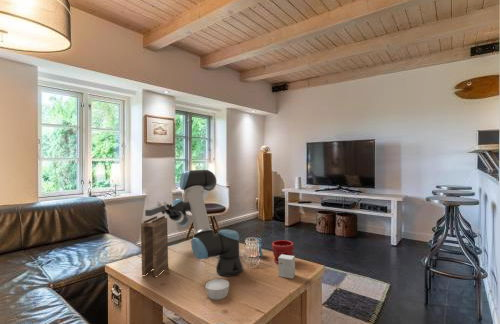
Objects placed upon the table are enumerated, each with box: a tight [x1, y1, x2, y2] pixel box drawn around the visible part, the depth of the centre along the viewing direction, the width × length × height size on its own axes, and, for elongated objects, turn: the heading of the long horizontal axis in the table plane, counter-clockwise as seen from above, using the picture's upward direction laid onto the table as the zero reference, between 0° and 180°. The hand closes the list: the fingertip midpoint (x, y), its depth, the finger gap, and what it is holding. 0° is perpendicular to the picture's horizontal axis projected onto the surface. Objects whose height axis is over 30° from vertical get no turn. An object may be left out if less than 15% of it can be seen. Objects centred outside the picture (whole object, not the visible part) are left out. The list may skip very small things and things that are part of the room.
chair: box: [252, 236, 263, 258], centre depth 175 cm, size 8×8×12 cm
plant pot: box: [271, 239, 294, 264], centre depth 164 cm, size 13×13×12 cm
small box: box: [277, 254, 296, 279], centre depth 145 cm, size 8×6×10 cm
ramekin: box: [205, 278, 230, 301], centre depth 126 cm, size 11×11×5 cm
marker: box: [144, 203, 167, 217], centre depth 156 cm, size 3×21×3 cm, turn 170°
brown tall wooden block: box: [140, 215, 169, 277], centre depth 152 cm, size 9×13×31 cm
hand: (160, 203), depth 159 cm, fingers closed on marker, 3 cm apart
